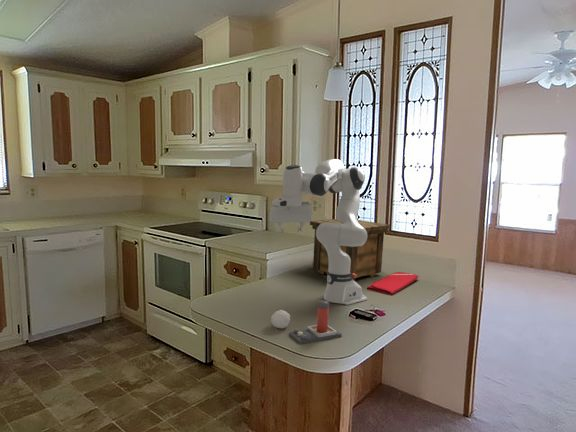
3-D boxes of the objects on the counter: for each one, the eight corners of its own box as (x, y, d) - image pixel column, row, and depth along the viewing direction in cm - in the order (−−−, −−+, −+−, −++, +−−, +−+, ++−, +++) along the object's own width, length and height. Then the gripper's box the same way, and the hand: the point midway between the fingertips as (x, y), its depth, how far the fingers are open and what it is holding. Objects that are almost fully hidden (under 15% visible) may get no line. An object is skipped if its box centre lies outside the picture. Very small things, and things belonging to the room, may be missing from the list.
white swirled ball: (288, 324, 176) (289, 306, 175) (291, 331, 169) (292, 313, 168) (270, 324, 175) (270, 306, 174) (271, 331, 168) (272, 313, 167)
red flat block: (365, 290, 231) (365, 283, 230) (394, 275, 263) (395, 270, 263) (392, 296, 222) (392, 289, 221) (418, 280, 254) (419, 275, 254)
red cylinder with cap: (323, 328, 170) (325, 299, 168) (329, 332, 166) (331, 303, 164) (314, 329, 167) (316, 301, 166) (320, 333, 164) (322, 304, 162)
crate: (350, 285, 237) (354, 229, 232) (307, 272, 262) (310, 221, 258) (386, 276, 260) (389, 224, 256) (343, 264, 286) (346, 217, 281)
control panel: (329, 328, 174) (329, 322, 173) (341, 336, 166) (341, 330, 165) (289, 334, 165) (289, 329, 165) (299, 344, 157) (300, 338, 157)
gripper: (308, 200, 193) (307, 230, 195) (268, 201, 184) (267, 231, 185) (315, 202, 187) (313, 232, 189) (274, 202, 178) (273, 234, 180)
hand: (290, 232), depth 187 cm, fingers open, 8 cm apart
